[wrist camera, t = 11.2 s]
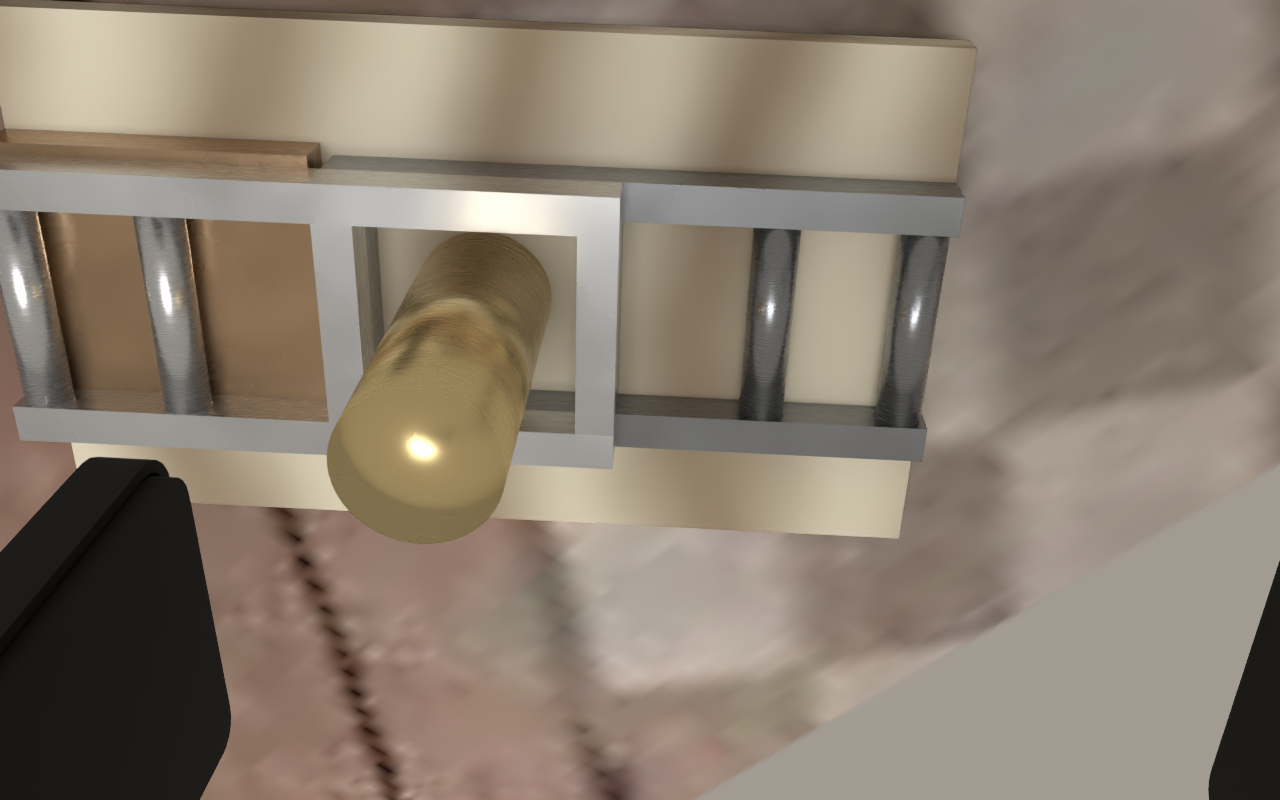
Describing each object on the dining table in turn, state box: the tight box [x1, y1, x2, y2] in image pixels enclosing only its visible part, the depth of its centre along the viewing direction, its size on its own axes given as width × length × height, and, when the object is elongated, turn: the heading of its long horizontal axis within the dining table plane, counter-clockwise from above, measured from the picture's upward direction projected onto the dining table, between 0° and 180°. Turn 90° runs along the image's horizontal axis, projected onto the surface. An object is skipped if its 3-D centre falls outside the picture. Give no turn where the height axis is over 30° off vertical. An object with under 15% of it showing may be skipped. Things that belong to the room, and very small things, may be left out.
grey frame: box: [320, 155, 965, 462], centre depth 32 cm, size 16×7×1 cm, turn 88°
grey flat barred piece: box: [0, 128, 623, 469], centre depth 31 cm, size 16×8×2 cm, turn 88°
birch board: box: [0, 0, 977, 538], centre depth 33 cm, size 24×14×1 cm, turn 88°
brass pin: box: [327, 232, 552, 544], centre depth 28 cm, size 4×4×9 cm
